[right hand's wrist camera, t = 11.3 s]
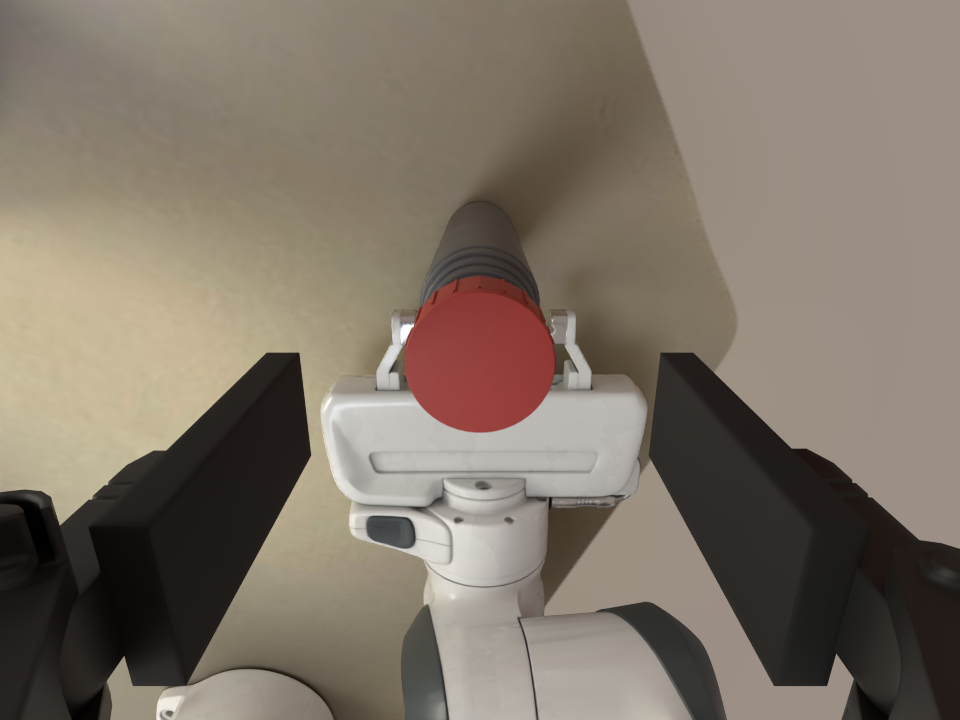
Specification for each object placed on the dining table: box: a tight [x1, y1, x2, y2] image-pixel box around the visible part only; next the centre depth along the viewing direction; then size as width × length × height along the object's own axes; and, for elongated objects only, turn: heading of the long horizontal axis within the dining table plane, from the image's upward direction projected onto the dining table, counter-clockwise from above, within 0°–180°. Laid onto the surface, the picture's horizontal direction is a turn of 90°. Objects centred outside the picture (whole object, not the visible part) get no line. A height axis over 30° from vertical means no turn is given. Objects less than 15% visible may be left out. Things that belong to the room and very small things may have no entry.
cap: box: [404, 275, 555, 433], centre depth 17 cm, size 4×4×2 cm
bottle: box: [420, 202, 540, 307], centre depth 28 cm, size 5×5×24 cm
